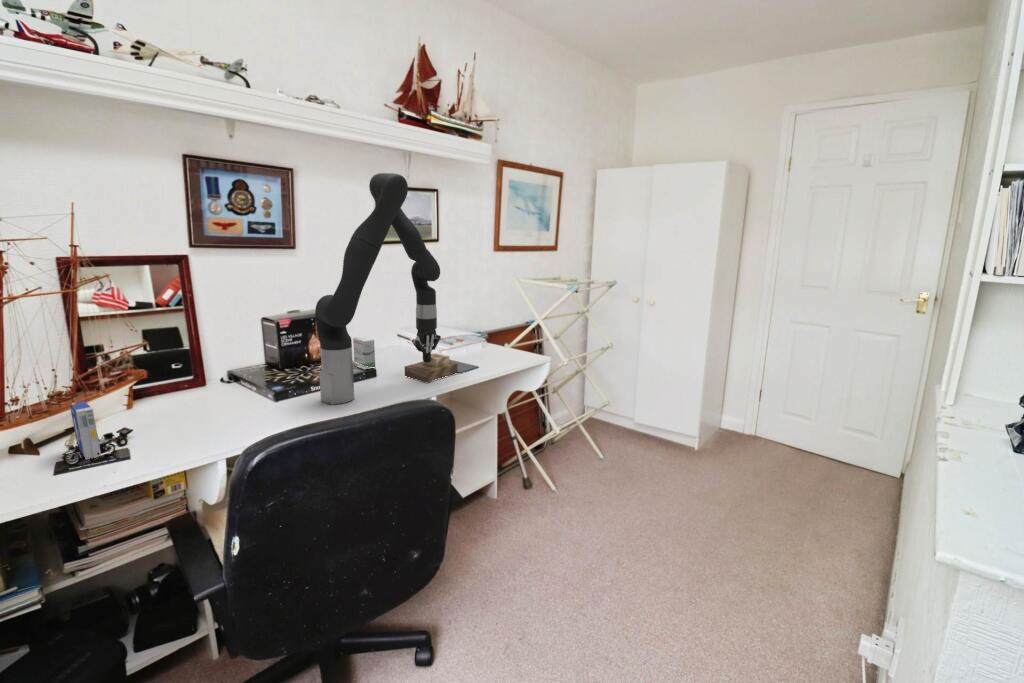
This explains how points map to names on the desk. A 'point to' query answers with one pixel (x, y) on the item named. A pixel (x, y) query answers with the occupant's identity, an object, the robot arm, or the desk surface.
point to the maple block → (438, 360)
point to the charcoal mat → (464, 366)
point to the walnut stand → (430, 371)
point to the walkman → (85, 429)
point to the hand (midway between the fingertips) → (426, 361)
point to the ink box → (364, 351)
